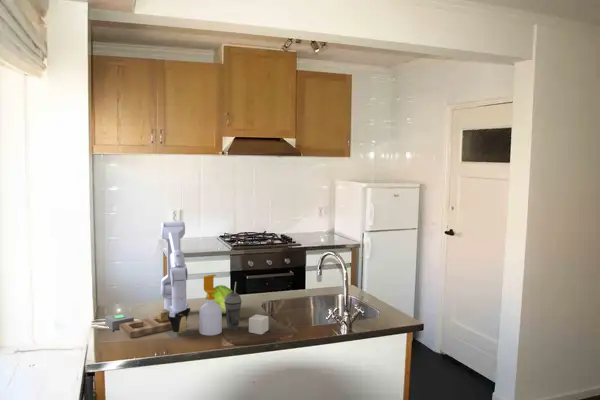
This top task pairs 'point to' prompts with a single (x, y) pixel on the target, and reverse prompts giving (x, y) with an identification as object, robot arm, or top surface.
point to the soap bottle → (210, 311)
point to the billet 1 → (162, 316)
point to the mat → (178, 335)
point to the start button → (119, 316)
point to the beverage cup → (233, 309)
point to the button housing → (117, 320)
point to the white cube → (258, 324)
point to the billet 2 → (182, 325)
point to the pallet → (143, 327)
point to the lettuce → (221, 296)
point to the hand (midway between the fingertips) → (179, 329)
